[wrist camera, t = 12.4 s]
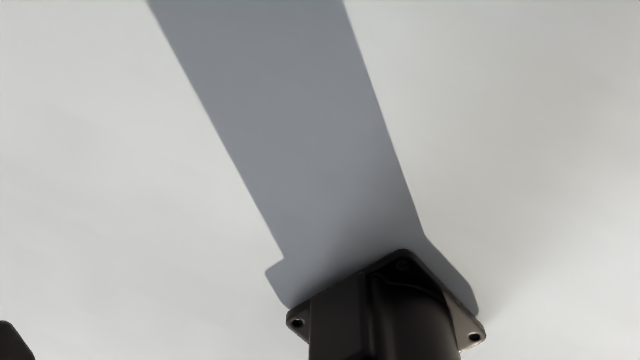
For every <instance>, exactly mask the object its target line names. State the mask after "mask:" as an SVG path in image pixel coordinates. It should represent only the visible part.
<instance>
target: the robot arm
mask: <svg viewBox="0 0 640 360" xmlns="http://www.w3.org/2000/svg"><path fill="white" fill-rule="evenodd" d="M402 260H404V261H406V262H404V263H399V261H402ZM295 319H300V320H295ZM286 325H287V326H288V328H289V329H291V330H292V331H293V332H294V333H296V334H297V335H298V336H299V337H300V338H302V339H303V340H304V341H305V342H307V343H308V344H309V360H461V357H460V352H462V351H464V350H467V349H469V348H471V347H473V346H475V345H477V344H480V343H481V342H483V341H484V340H485V338H486V333H485V330H484V327H483V325H482V324H481V323H480V322H479V321H478V320H477V319H476V318H475V317H474V316H473V315H472V314H471V313H470V312H469V311H468V310H467V309H466V308H465V307H464V305H463V304H462V303H461V302H460V301H459V300H458V299H457V298H456V297H455V296H454V295H453V294H452V293H451V292H450V291H449V290H448V289H447V288H446V287H445V286H444V285H443V284H442V283H441V282H440V280H439V279H438V278H437V277H436V276H435V275H434V274H433V273H432V272H431V271H430V270H429V269H428V268H427V267H426V266H425V265H424V264H423V263H422V262H421V261H420V260H419V259H418V258H417V257H416V255H415V254H414V253H413V252H411V251H410V250H406V249H399V250H397V251H394V252H393V253H391V254H389V255H387V256H385V257H384V258H382V259H380V260H378V261H377V262H375V263H373V264H371V265H369V266H368V267H366V268H364V269H362V270H360V271H359V272H357V273H355V274H353V275H352V276H350V277H348V278H346V279H344V280H343V281H341V282H339V283H337V284H336V285H334V286H332V287H330V288H328V289H327V290H325V291H323V292H321V293H320V294H318V295H316V296H314V297H312V298H311V299H309V300H307V301H305V302H304V303H302V304H300V305H298V306H296V307H295V308H293V309H291V310H290V311H288V313H287V315H286ZM474 333H475V334H474ZM0 360H35V357H34V355H33V353H32V352H31V350H30V349H29V347H28V346H27V345H26V343H25V342H24V340H23V339H22V338H21V336H20V335H19V333H18V332H17V331H16V329H15V328H14V327H13V325H12V324H11V323H9V322H7V321H3V320H1V321H0Z"/></svg>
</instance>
